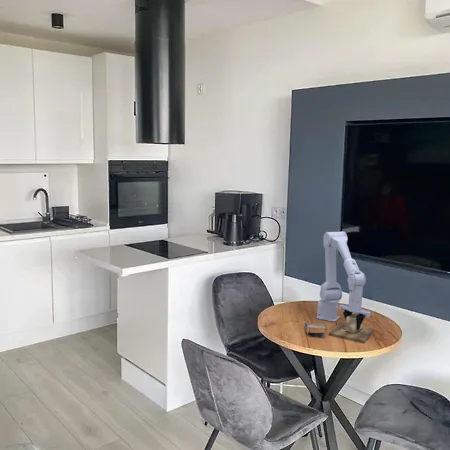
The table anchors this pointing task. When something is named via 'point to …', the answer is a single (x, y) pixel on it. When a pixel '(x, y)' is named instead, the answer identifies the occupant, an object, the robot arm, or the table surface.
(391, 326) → the table surface
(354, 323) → the block
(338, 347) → the table surface
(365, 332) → the walnut board
